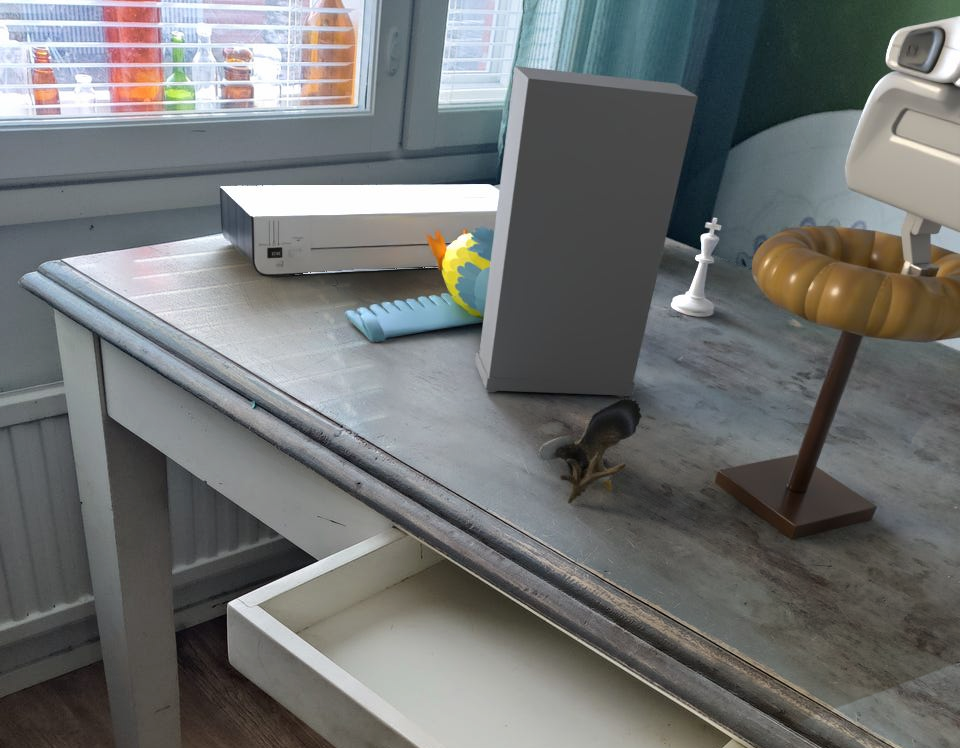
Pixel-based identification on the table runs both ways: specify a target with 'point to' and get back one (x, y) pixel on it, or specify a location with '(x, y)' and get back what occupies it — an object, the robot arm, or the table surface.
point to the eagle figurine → (594, 446)
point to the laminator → (349, 224)
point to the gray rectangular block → (580, 229)
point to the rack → (804, 468)
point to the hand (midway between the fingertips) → (942, 305)
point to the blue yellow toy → (465, 282)
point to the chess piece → (699, 279)
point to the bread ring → (859, 283)
